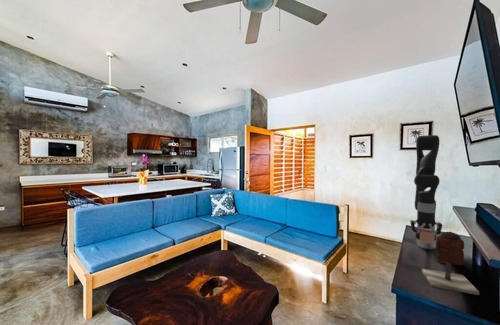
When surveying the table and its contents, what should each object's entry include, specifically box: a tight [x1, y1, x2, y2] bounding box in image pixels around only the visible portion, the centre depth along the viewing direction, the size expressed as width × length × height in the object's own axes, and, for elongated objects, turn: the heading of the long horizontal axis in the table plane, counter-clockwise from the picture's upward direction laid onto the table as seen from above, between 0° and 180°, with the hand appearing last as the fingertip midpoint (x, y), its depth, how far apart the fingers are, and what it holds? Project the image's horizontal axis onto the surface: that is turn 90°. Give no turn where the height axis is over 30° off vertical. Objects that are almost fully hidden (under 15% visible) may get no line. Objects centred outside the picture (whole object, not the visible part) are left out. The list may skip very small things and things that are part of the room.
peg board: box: [421, 262, 480, 296], centre depth 105 cm, size 14×17×10 cm
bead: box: [419, 229, 436, 244], centre depth 118 cm, size 6×6×6 cm
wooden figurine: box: [435, 231, 465, 266], centre depth 122 cm, size 12×6×18 cm, turn 77°
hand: (425, 239), depth 118 cm, fingers closed on bead, 6 cm apart
